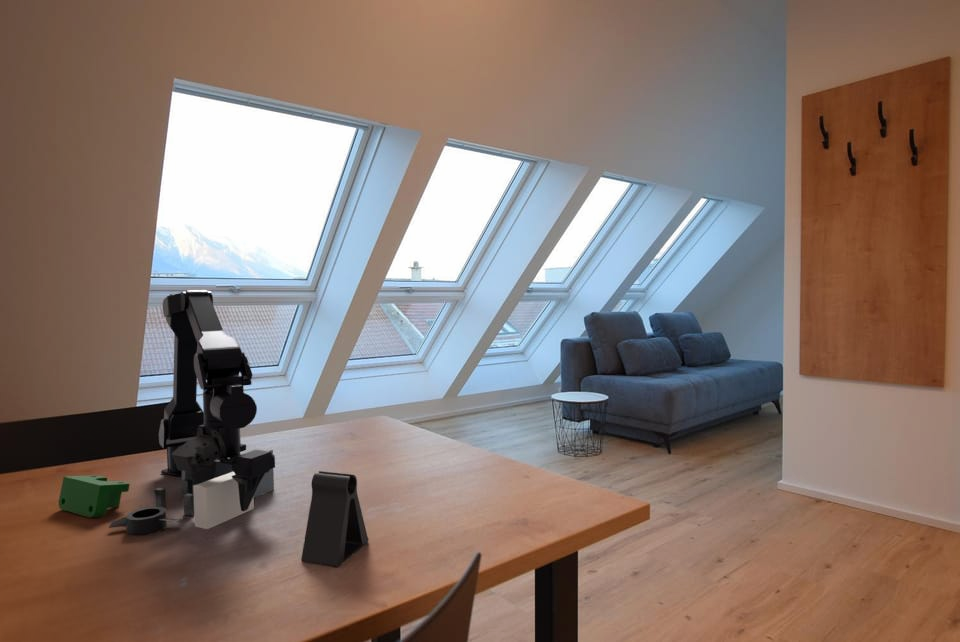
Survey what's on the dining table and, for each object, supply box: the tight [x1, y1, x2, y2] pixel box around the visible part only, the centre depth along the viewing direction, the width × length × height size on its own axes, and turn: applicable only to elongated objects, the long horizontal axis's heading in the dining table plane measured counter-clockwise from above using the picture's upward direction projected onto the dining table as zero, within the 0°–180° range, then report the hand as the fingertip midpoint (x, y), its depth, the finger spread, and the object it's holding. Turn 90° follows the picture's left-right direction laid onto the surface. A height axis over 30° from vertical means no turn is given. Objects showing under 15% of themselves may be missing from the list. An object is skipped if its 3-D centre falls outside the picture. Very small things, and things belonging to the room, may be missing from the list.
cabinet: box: [181, 445, 275, 499], centre depth 117 cm, size 16×8×8 cm, turn 65°
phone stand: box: [300, 470, 369, 568], centre depth 89 cm, size 9×6×12 cm, turn 161°
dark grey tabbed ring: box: [108, 506, 184, 537], centre depth 99 cm, size 8×10×3 cm
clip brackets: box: [154, 479, 194, 517], centre depth 109 cm, size 9×7×4 cm
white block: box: [193, 472, 255, 530], centre depth 103 cm, size 10×4×7 cm, turn 155°
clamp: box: [58, 475, 131, 518], centre depth 108 cm, size 12×6×9 cm, turn 57°
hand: (225, 506), depth 104 cm, fingers open, 9 cm apart
